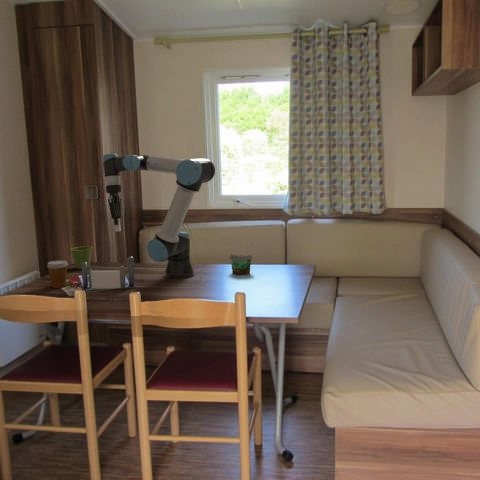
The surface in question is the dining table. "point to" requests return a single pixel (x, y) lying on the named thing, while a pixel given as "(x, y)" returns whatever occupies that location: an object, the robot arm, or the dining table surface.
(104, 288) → the strip
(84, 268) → the hinge post
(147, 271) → the dining table surface
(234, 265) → the food container
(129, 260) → the post
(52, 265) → the disposable coffee cup
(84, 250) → the plant pot
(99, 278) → the gate
